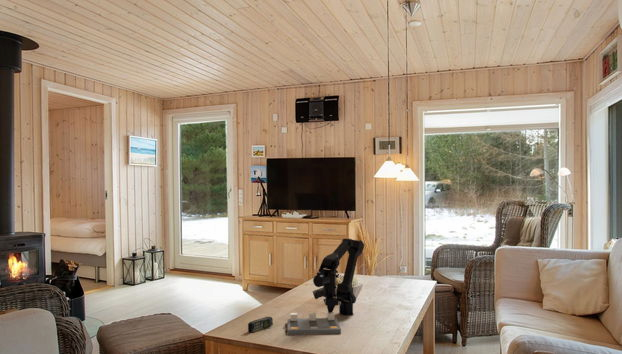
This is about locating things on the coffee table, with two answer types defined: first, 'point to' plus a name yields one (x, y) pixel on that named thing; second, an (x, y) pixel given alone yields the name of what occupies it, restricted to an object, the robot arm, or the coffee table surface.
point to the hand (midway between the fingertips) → (329, 314)
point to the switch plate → (313, 326)
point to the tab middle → (312, 316)
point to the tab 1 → (293, 316)
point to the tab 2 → (330, 315)
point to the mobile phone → (260, 324)
